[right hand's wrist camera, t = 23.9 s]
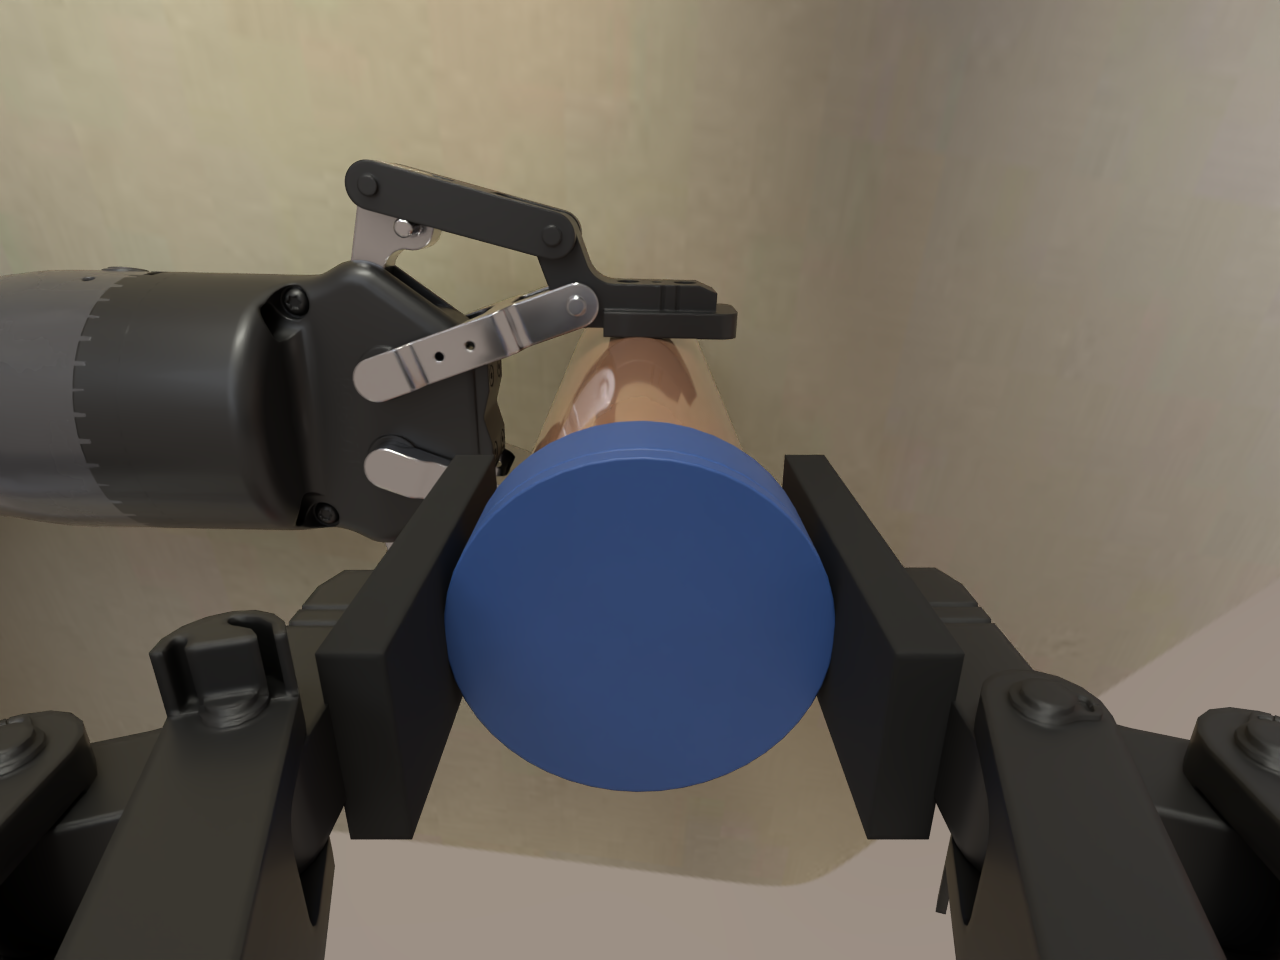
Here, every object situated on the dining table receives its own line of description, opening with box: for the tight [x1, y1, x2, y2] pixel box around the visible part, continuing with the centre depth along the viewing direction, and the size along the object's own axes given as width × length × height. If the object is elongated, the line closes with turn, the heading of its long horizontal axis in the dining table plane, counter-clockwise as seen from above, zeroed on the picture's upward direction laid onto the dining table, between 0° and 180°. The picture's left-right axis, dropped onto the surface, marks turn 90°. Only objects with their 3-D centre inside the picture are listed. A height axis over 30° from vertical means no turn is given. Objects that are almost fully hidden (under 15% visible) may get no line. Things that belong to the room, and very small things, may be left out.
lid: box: [444, 421, 835, 792], centre depth 11 cm, size 6×6×2 cm
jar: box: [531, 328, 744, 455], centre depth 20 cm, size 5×5×17 cm
